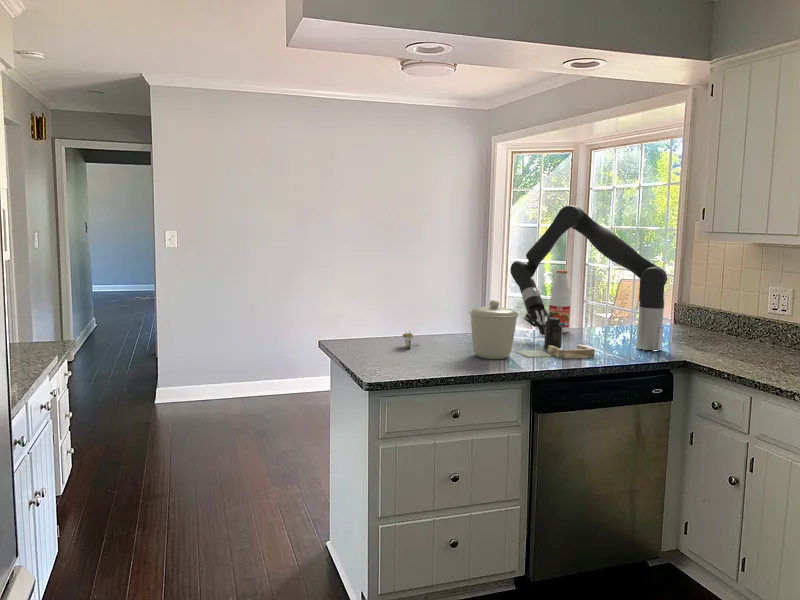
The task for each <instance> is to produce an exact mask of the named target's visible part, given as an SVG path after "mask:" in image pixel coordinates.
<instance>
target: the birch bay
mask: <svg viewBox="0 0 800 600" xmlns="http://www.w3.org/2000/svg"><path fill="white" fill-rule="evenodd" d="M595 352H596V349H594V348H591V347H588V346H586V345H583V344H577V345H576V348H574V349H562V348H561V349H560V348H557V347H555V346H552V345H548V349H547V354H549V355H552V356H554V357H556V358H558V359H560V358H561V360H562V359H588V358H587V357H594V358H595V354H596V353H595Z"/></svg>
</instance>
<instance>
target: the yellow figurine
mask: <svg viewBox="0 0 800 600" xmlns="http://www.w3.org/2000/svg"><path fill="white" fill-rule="evenodd" d="M402 339H404V340H405V341H404V343H405V345H407V340H408V346H406V348H410V350H412V349H411V345H412V343H411V341H413V340H414V339H415V338H414V334H413V333H411V330H409V333H407V331H405V333H404V334H402Z"/></svg>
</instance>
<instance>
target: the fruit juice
mask: <svg viewBox="0 0 800 600" xmlns="http://www.w3.org/2000/svg"><path fill="white" fill-rule="evenodd" d="M555 273H556V276H555V279H554V281H553V283H552V285H551V286H550V298H549V306H548V307H549V308H548V314H553V316H552V318H560V325H561V326H562V334H563V333H564V334H565V333H568V332H569V331H570V316H571V298H570V296H571V293H572V288H571V286H570V282H569V279H568V270H562V269H556V272H555Z"/></svg>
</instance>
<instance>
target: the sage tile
mask: <svg viewBox="0 0 800 600" xmlns="http://www.w3.org/2000/svg"><path fill="white" fill-rule="evenodd" d="M515 353H517V354H520V355H521V356H523V357H526V358H550V357H552V356H553V355H551V354H549V353H548V352H545V351H542V350H539V349H537V350H536V349H535V350H534V349H533V350H515Z"/></svg>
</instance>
